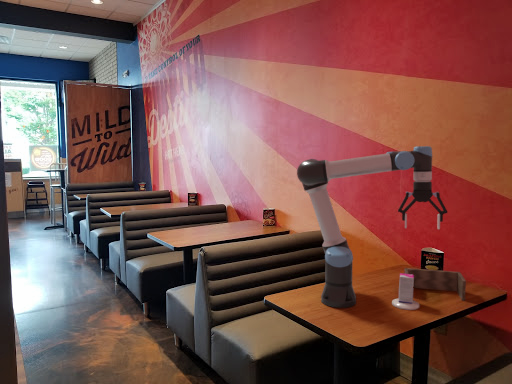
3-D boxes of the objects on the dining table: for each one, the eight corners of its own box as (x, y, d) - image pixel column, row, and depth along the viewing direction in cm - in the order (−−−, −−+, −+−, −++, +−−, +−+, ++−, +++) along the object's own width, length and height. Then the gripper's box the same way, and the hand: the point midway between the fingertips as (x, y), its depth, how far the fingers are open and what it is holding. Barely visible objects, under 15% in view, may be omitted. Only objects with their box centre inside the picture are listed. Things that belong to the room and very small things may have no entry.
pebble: (392, 308, 164) (392, 306, 164) (391, 298, 175) (391, 297, 174) (420, 311, 161) (420, 309, 161) (418, 301, 171) (418, 299, 171)
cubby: (405, 295, 179) (406, 276, 178) (404, 285, 191) (404, 268, 190) (465, 300, 171) (465, 280, 170) (459, 290, 184) (460, 272, 183)
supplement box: (413, 304, 166) (413, 278, 165) (398, 302, 168) (398, 276, 167) (412, 299, 172) (413, 274, 171) (398, 297, 174) (399, 272, 173)
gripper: (392, 181, 173) (392, 228, 175) (455, 181, 165) (454, 231, 167) (392, 180, 180) (392, 225, 182) (452, 180, 172) (451, 227, 174)
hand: (421, 228), depth 175 cm, fingers open, 13 cm apart
